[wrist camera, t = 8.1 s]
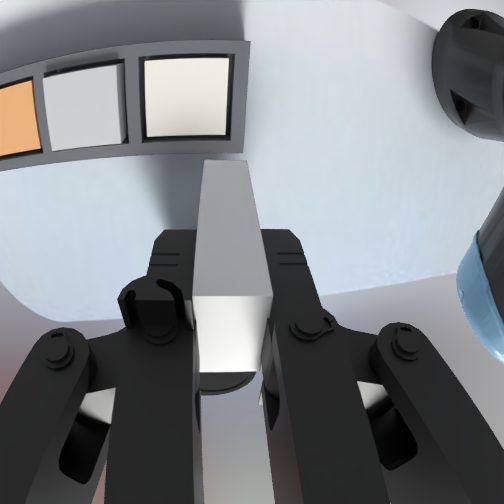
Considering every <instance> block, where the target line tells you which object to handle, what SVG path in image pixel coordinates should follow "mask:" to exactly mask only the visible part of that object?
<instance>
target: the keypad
mask: <svg viewBox="0 0 504 504" xmlns="http://www.w3.org/2000/svg"><path fill="white" fill-rule="evenodd" d="M250 42H251V41H242V40H178V41H161V42H148V43H138V44H129V45H121V46H114V47H107V48H100V49H94V50H89V51H83V52H78V53H73V54H69V55H64V56H60V57H55V58H51V59H47V60H43V61H39V62H36V63H32V64H29V65H25V66H22V67H18V68H15V69H12V70H9V71H6V72H3V73H0V88H2V87H5V86H9V85H12V84H15V83H19V82H22V81H26V80H30V79H33V80H34V91H35V100H36V109H37V116H38V123H39V130H40V136H41V142H42V148H40V149H34V150H28V151H22V152H17V153H12V154H7V155H2V156H0V171H6V170H12V169H18V168H24V167H30V166H37V165H44V164H52V163H60V162H68V161H77V160H87V159H97V158H109V157H122V156H137V155H155V154H181V153H243V147H244V131H245V115H246V100H247V85H248V70H249V56H250ZM175 57H228V58H229V67H228V86H227V108H226V132H225V135H175V136H153V137H147V125H146V102H145V61H146V60H149V59H158V58H175ZM116 63H124V92H125V111H126V125H127V136H126V138H125V139H124V140H123V142H122V143H121V144H109V145H98V146H89V147H80V148H72V149H64V150H56V151H52V147H51V141H50V135H49V129H48V122H47V114H46V106H45V98H44V87H43V78H46V77H48V76H51V75H54V74H58V73H63V72H68V71H73V70H78V69H84V68H89V67H95V66H102V65H109V64H116Z"/></svg>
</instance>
